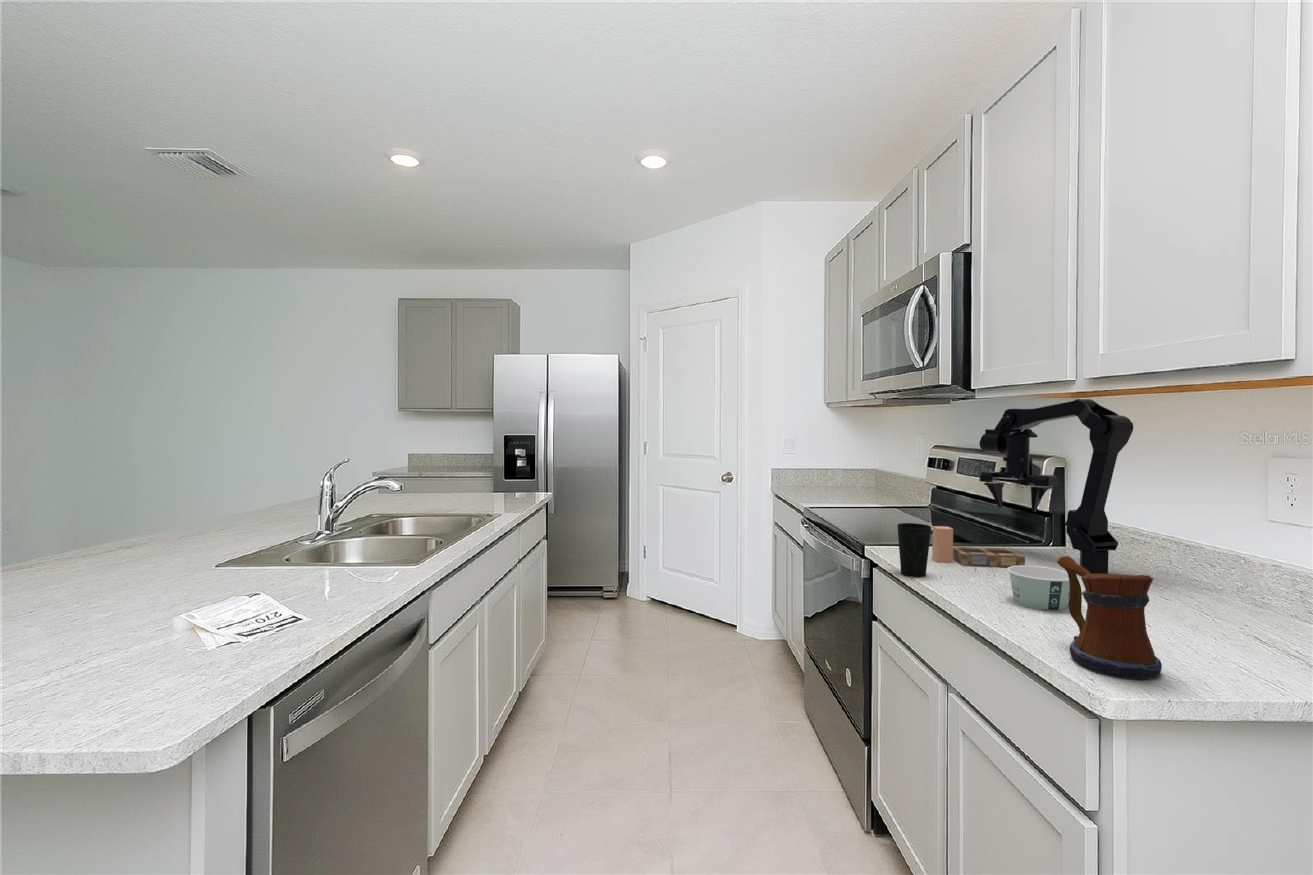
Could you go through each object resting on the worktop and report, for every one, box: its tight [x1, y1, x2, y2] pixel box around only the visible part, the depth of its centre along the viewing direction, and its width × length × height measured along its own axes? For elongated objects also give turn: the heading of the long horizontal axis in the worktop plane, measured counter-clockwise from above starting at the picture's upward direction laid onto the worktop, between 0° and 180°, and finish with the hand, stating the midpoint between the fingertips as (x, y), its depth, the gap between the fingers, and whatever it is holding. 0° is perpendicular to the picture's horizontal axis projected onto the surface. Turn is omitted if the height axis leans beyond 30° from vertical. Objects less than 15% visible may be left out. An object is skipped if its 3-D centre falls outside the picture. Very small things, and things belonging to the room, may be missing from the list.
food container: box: [1006, 564, 1070, 611], centre depth 126 cm, size 12×12×6 cm
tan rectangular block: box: [931, 525, 954, 564], centre depth 163 cm, size 4×4×9 cm
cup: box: [896, 522, 932, 578], centre depth 149 cm, size 8×8×12 cm
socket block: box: [953, 546, 1026, 569], centre depth 162 cm, size 10×15×3 cm
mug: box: [1056, 555, 1163, 681], centre depth 97 cm, size 18×12×15 cm, turn 0°
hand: (1016, 509), depth 169 cm, fingers open, 9 cm apart
